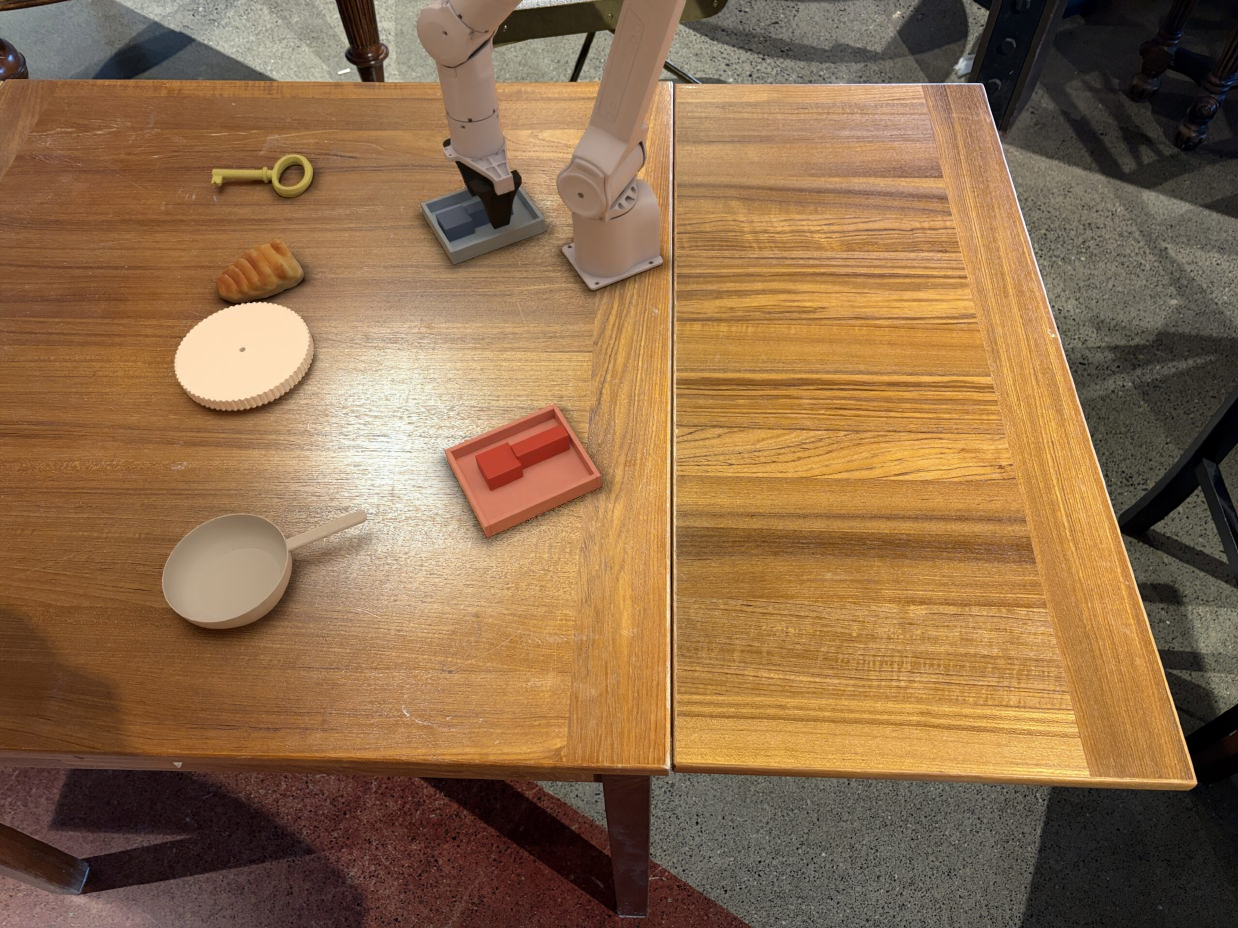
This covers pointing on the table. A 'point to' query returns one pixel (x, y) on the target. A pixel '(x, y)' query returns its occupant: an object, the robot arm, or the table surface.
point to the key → (270, 175)
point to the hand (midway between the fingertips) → (489, 209)
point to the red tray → (540, 482)
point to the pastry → (260, 273)
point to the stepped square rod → (462, 220)
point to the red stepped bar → (520, 456)
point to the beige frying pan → (236, 568)
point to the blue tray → (485, 237)
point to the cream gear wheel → (244, 356)
